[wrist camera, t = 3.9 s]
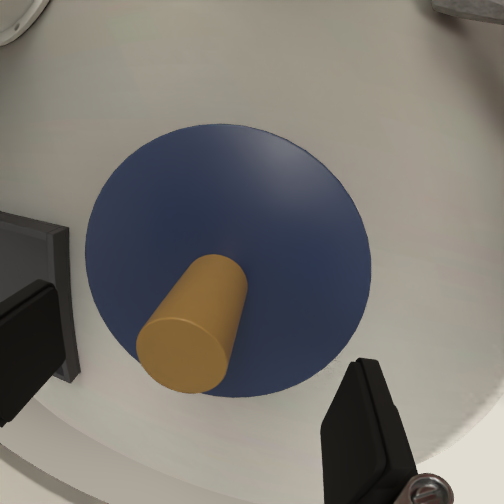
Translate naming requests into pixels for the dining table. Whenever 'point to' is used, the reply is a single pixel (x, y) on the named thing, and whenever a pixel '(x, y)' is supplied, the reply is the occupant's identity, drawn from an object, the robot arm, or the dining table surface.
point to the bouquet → (472, 9)
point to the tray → (39, 272)
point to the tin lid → (227, 261)
